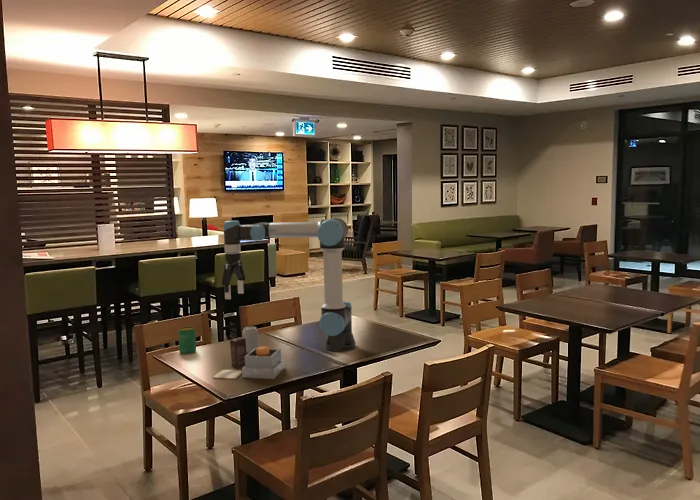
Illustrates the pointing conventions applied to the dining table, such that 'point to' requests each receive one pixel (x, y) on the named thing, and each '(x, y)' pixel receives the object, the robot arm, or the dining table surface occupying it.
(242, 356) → the box
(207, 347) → the dining table surface
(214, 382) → the dining table surface
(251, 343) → the can
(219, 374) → the coaster
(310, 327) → the dining table surface
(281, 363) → the box
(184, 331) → the beverage can
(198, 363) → the dining table surface
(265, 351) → the plunger
